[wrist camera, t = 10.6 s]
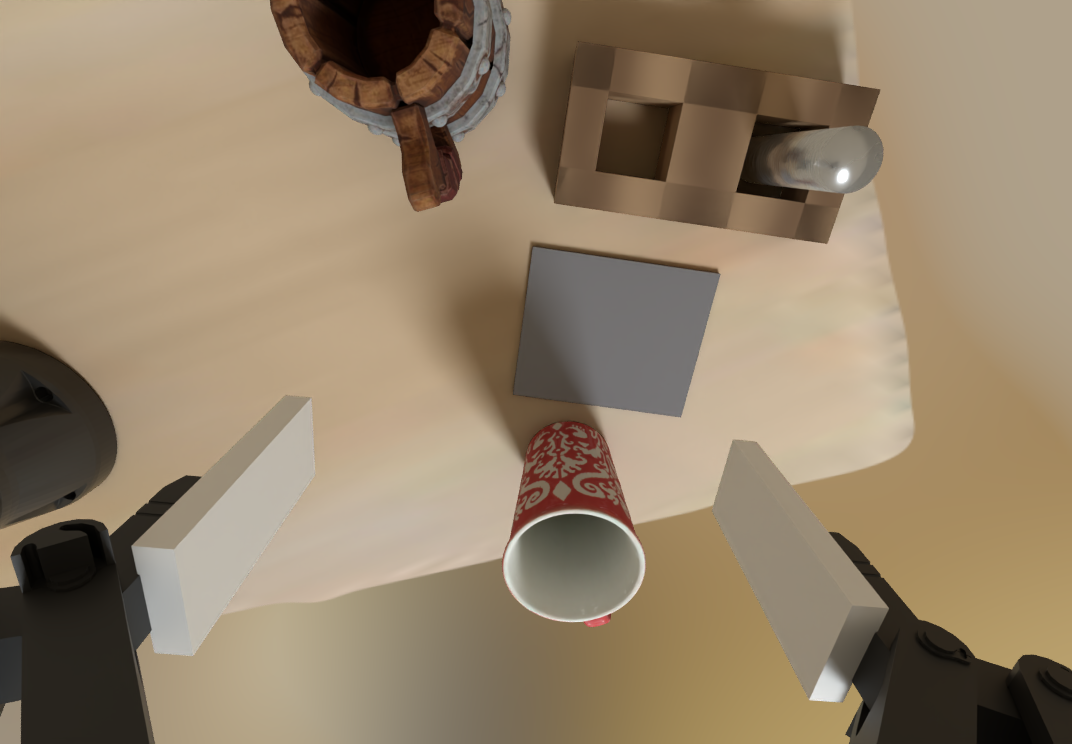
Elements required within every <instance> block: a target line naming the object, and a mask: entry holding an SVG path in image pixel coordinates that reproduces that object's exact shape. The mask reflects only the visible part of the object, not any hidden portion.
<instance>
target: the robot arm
mask: <svg viewBox="0 0 1072 744" xmlns="http://www.w3.org/2000/svg"><path fill="white" fill-rule="evenodd" d="M116 455H117V440H116V434H115V429H114V426H113V423H112V421H111V418H110V416H109V414H108V412H107V410H106V408H105V407H104V405H103V404H102V402H101V400H100V399H99V398H98V396H97V395H96V394H95V393H94V391H93V390H92V389H91V388H90V387H89V386H88V385H87V384H86V383H85V382H84V381H83V380H82V379H81V378H80V377H79V376H78V375H77V374H76V373H74V372H73V371H72V370H70V369H69V368H68V367H66V366H65V365H64V364H62V363H60V362H59V361H57V360H56V359H54V358H52V357H50V356H48V355H46V354H44V353H42V352H40V351H38V350H35V349H33V348H30V347H27V346H24V345H20V344H16V343H12V342H6V341H0V529H3V528H5V527H8V526H11V525H14V524H17V523H20V522H23V521H25V520H28V519H31V518H34V517H37V516H40V515H43V514H45V513H48V512H51V511H54V510H57V509H60V508H63V507H65V506H68V505H70V504H72V503H74V502H76V501H77V500H79V499H80V498H82V497H83V496H85V495H86V494H87V493H89V492H90V491H92V490H93V489H94V488H96V487H97V486H98V485H100V484H101V483H102V482H103V481H104V480H105V479H106V478H107V477H108V475H109V474H110V472H111V470H112V468H113V466H114V463H115V460H116ZM314 476H315V460H314V439H313V419H312V399H311V398H309V397H299V396H289V395H285V396H284V397H283V398H282V399H281V400H280V401H279V402H278V403H277V404H276V405H275V406H274V407H273V408H272V409H271V410H270V411H269V412H268V413H267V414H266V415H265V416H264V417H263V418H262V419H261V420H260V421H259V422H258V423H257V424H256V425H255V426H254V427H253V428H252V429H251V430H250V431H248V432H247V433H246V434H245V435H244V436H243V437H242V438H241V439H240V440H239V441H238V442H237V443H236V444H235V445H234V446H233V447H232V448H231V449H230V450H229V451H228V452H227V453H226V454H225V455H224V456H223V457H222V458H221V459H220V460H219V461H218V462H217V463H216V464H215V465H214V466H213V467H212V468H211V469H210V470H209V471H208V472H207V473H206V474H204V475H203V476H202V477H198V476H187V475H186V476H184V477H182V478H180V479H178V480H176V481H175V482H173V483H171V484H169V485H167V486H165V487H164V488H162V489H161V490H160V491H159V492H158V493H157V494H156V495H155V496H154V497H152V498H151V499H150V500H149V503H148V504H145V505H144V506H143V507H141V508H140V509H139V510H138V511H137V512H136V515H133V516H131V517H130V518H129V519H128V520H127V521H126V522H125V523H124V524H123V525H121V526H120V527H119V528H118V529H117V530H116V531H115V532H114V533H113V534H112V535H110V536H109V533H108V529H107V528H106V527H105V525H104V524H103V523H101V522H98V521H95V520H92V519H76V520H71V521H65V522H60V523H57V524H54V525H51V526H48V527H45V528H42V529H40V530H38V531H37V532H35V533H33V534H31V535H29V536H27V537H26V538H24V539H23V540H22V541H21V542H20V543H19V544H18V545H17V546H15V548H14V550H13V552H12V554H11V556H10V557H11V560H12V563H13V566H14V569H15V572H16V575H17V578H18V581H19V584H20V586H14V587H7V588H0V716H1V713H2V711H3V708H4V706H5V703H9V702H14V701H19V700H21V744H155V742H154V737H153V732H152V726H151V722H150V716H149V711H148V706H147V701H146V696H145V692H144V686H143V681H142V675H141V671H140V666H139V660H138V656H137V652H136V649H137V648H138V647H139V646H140V644H141V643H142V642H143V641H144V639H145V638H146V637H147V636H148V634H149V633H150V634H151V638H152V643H153V648H154V652H155V653H161V654H176V655H189V656H193V655H194V654H195V652H196V651H197V649H198V648H199V646H200V645H201V643H202V642H203V640H204V639H205V637H206V636H207V635H208V633H209V631H210V630H211V629H212V627H213V625H214V624H215V623H216V621H217V620H218V618H219V617H220V615H221V614H222V612H223V611H224V609H225V608H226V606H227V605H228V603H229V602H230V600H231V599H232V597H233V596H234V594H235V593H236V592H237V590H238V589H239V587H240V586H241V584H242V583H243V581H244V580H245V578H246V577H247V575H248V574H249V572H250V571H251V569H252V568H253V566H254V565H255V563H256V562H257V560H258V559H259V557H260V556H261V554H262V553H263V551H264V550H265V549H266V547H267V546H268V544H269V543H270V541H271V540H272V538H273V537H274V535H275V534H276V532H277V531H278V529H279V528H280V526H281V525H282V523H283V522H284V520H285V519H286V517H287V516H288V514H289V513H290V511H291V510H292V508H293V507H294V505H295V504H296V503H297V501H298V500H299V498H300V497H301V495H302V494H303V492H304V491H305V489H306V488H307V486H308V485H309V483H310V482H311V480H312V479H313V477H314ZM712 512H713V514H714V516H715V518H716V520H717V522H718V524H719V526H720V528H721V530H722V531H723V534H724V535H725V537H726V539H727V541H728V543H729V545H730V547H731V549H732V551H733V553H734V555H735V557H736V559H737V561H738V563H739V564H740V567H741V568H742V570H743V572H744V574H745V576H746V578H747V580H748V582H749V584H750V586H751V588H752V590H753V592H754V594H755V596H756V598H757V600H758V601H759V603H760V605H761V607H762V609H763V611H764V613H765V615H766V617H767V619H768V621H769V623H770V625H771V627H772V628H773V631H774V632H775V634H776V636H777V638H778V640H779V642H780V644H781V646H782V648H783V650H784V652H785V654H786V656H787V658H788V660H789V662H790V664H791V666H792V668H793V669H794V671H795V673H796V675H797V677H798V679H799V681H800V683H801V685H802V687H803V689H804V691H805V693H806V695H807V697H808V698H809V700H817V701H831V702H843V701H844V699H845V696H846V695H847V692H848V691H849V689H850V686H851V685H852V683H853V684H854V685H855V687H856V689H857V690H858V692H859V693H860V695H861V697H862V698H863V701H862V703H861V705H860V707H859V709H858V711H857V713H856V714H855V716H854V718H853V720H852V723H851V724H850V727H849V728H848V730H847V732H846V735H847V736H849V737H850V742H849V744H1072V671H1071V670H1070V669H1069V668H1067V667H1066V666H1064V665H1062V664H1059V663H1057V662H1054V661H1052V660H1050V659H1048V658H1044V657H1040V656H1037V655H1023V656H1022V657H1021V658H1020V659H1019V660H1018V662H1017V663H1016V664H1015V666H1014V667H1013V669H1012V670H1011V669H1008V668H1005V667H1002V666H999V665H996V664H992V663H989V662H986V661H983V660H980V659H977V658H975V656H974V655H973V654H972V652H971V651H970V650H969V648H968V647H967V646H966V645H965V644H964V643H963V642H961V641H960V640H959V639H958V638H957V637H956V636H954V635H953V634H951V633H950V632H948V631H946V630H945V629H943V628H941V627H939V626H937V625H934V624H932V623H929V622H927V621H922V620H918V619H917V617H916V616H915V615H914V614H913V613H912V611H911V610H910V609H909V608H908V607H907V606H906V604H905V603H904V602H903V601H902V600H901V598H900V597H899V596H898V595H897V594H896V592H895V591H894V590H893V589H892V588H891V586H890V585H889V584H888V583H887V582H886V581H885V579H884V578H881V576H880V573H879V572H878V571H877V570H876V569H875V567H874V566H873V565H870V561H869V560H868V559H867V558H866V557H865V556H864V554H863V553H862V552H861V551H860V550H859V548H858V547H857V546H855V545H854V544H853V543H851V542H850V541H849V540H847V539H846V538H845V537H843V536H842V535H841V534H839V533H836V532H828V531H827V530H826V529H825V527H824V526H823V525H822V524H821V522H820V521H819V520H818V518H817V517H816V516H815V515H814V513H813V512H812V511H811V510H810V509H809V507H808V506H807V505H806V503H805V502H804V501H803V500H802V498H801V497H800V496H799V495H798V493H797V492H796V491H795V490H794V488H793V487H792V486H791V485H790V483H789V482H788V481H787V480H786V478H785V477H784V476H783V475H782V473H781V472H780V471H779V470H778V468H777V467H776V466H775V464H774V463H773V462H772V461H771V459H770V458H769V457H768V456H767V454H766V453H765V452H764V451H763V449H762V448H761V447H760V446H759V444H758V443H757V442H754V441H743V440H733V441H732V444H731V448H730V451H729V454H728V458H727V461H726V465H725V468H724V471H723V475H722V478H721V482H720V485H719V488H718V492H717V495H716V498H715V502H714V505H713V509H712Z"/></svg>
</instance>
